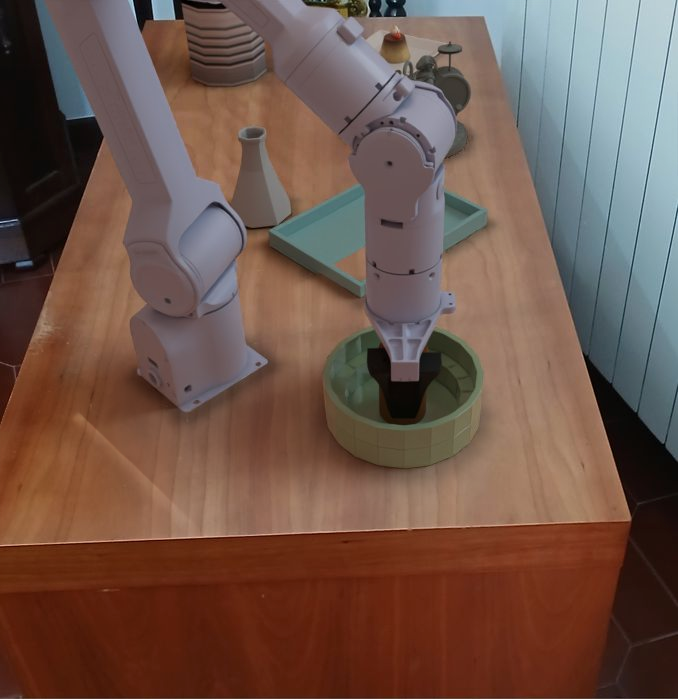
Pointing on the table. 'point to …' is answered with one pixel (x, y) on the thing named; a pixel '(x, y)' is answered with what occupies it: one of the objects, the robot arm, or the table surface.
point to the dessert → (402, 47)
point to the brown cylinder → (409, 421)
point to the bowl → (403, 440)
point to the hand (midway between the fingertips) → (402, 386)
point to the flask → (258, 183)
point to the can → (221, 45)
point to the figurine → (445, 86)
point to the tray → (356, 232)
